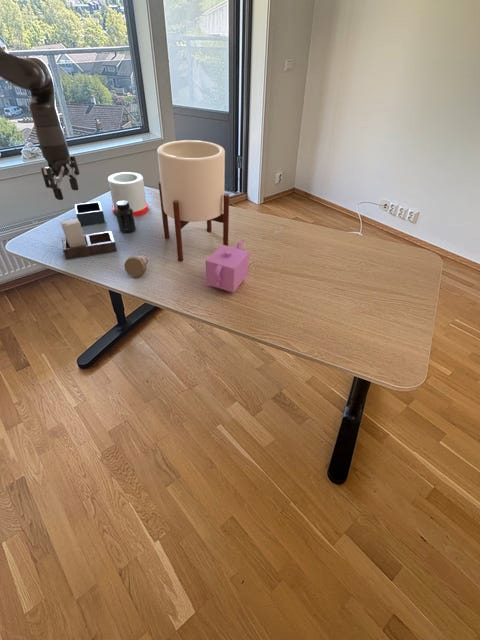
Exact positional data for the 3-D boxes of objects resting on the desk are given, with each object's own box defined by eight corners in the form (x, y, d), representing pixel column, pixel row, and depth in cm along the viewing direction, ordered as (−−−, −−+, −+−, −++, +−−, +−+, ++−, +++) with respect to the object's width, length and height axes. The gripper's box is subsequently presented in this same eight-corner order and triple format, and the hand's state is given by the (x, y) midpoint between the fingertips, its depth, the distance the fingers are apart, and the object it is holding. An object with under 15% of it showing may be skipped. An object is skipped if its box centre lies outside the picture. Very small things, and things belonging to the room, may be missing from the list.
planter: (176, 263, 127) (167, 162, 104) (161, 236, 143) (150, 142, 119) (232, 253, 135) (235, 156, 111) (212, 228, 150) (211, 138, 126)
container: (155, 207, 164) (151, 175, 154) (134, 220, 153) (128, 187, 143) (127, 200, 168) (122, 169, 159) (105, 212, 157) (98, 179, 148)
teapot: (229, 300, 112) (230, 267, 104) (202, 291, 115) (201, 259, 107) (253, 270, 126) (256, 239, 118) (229, 263, 129) (229, 232, 121)
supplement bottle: (120, 226, 148) (115, 199, 140) (137, 226, 148) (132, 199, 140) (118, 234, 142) (112, 206, 134) (135, 234, 143) (130, 206, 135)
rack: (66, 259, 126) (63, 250, 124) (64, 247, 133) (61, 238, 130) (116, 251, 132) (114, 242, 130) (113, 239, 139) (111, 230, 136)
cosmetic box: (85, 246, 134) (77, 217, 126) (89, 251, 131) (80, 222, 123) (69, 250, 131) (59, 220, 123) (72, 255, 129) (62, 225, 121)
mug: (154, 263, 127) (151, 250, 118) (143, 286, 124) (140, 273, 114) (134, 256, 127) (131, 242, 118) (123, 278, 124) (118, 265, 114)
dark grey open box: (79, 226, 146) (76, 214, 142) (77, 216, 153) (74, 204, 149) (105, 223, 149) (102, 210, 146) (102, 213, 156) (99, 201, 153)
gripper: (55, 134, 109) (70, 185, 120) (25, 145, 99) (43, 201, 109) (77, 136, 108) (90, 188, 119) (48, 148, 98) (65, 204, 108)
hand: (67, 194), depth 114 cm, fingers open, 8 cm apart
